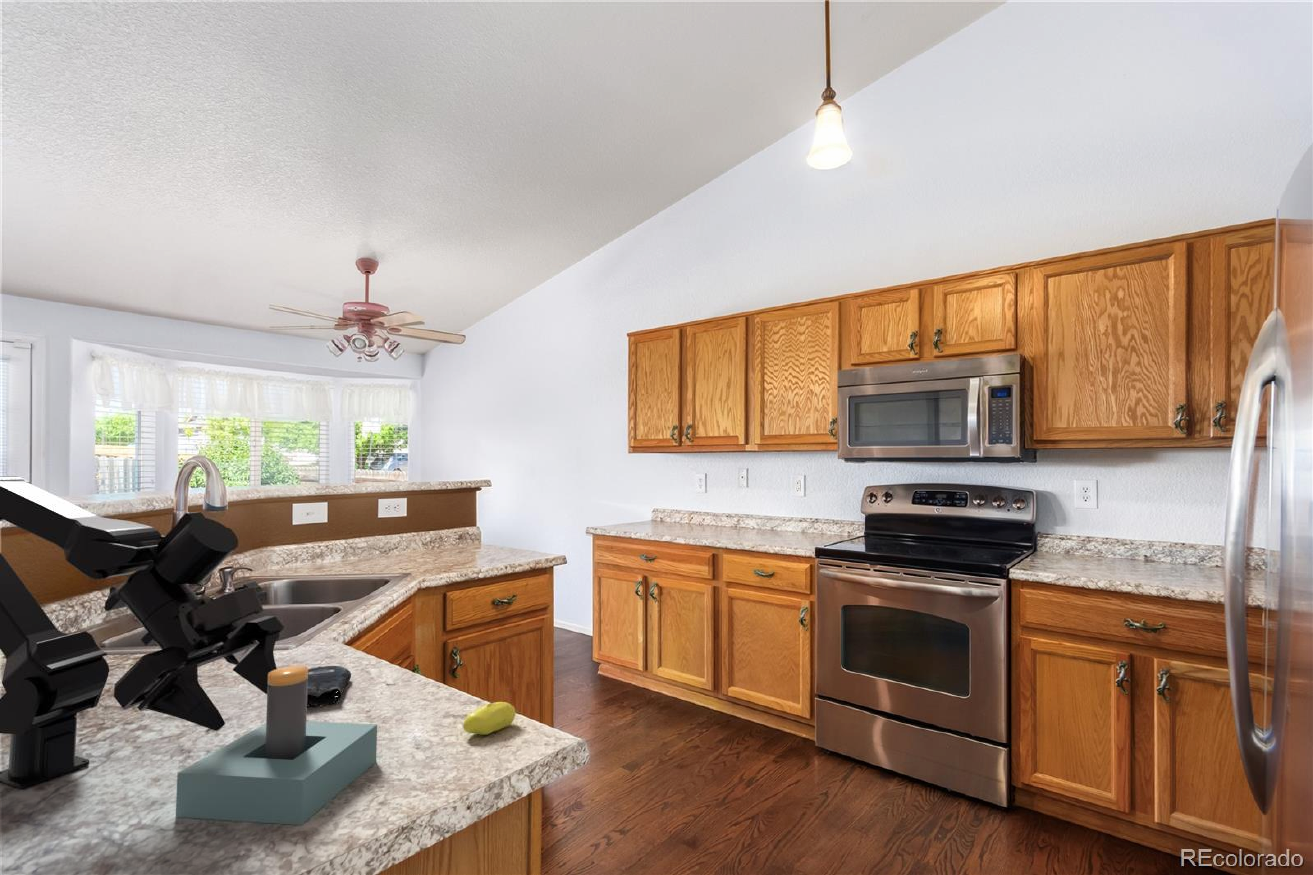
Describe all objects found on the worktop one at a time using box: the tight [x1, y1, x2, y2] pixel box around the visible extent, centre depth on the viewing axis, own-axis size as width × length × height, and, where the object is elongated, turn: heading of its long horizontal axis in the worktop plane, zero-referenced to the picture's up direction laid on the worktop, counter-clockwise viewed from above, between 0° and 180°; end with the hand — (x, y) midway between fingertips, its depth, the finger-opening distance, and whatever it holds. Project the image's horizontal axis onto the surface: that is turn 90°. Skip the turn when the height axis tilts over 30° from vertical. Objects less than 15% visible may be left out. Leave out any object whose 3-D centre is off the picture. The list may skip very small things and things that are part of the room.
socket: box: [175, 720, 378, 826], centre depth 71 cm, size 14×14×4 cm
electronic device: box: [307, 665, 352, 710], centre depth 101 cm, size 9×6×15 cm
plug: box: [265, 665, 309, 760], centre depth 72 cm, size 4×4×13 cm
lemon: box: [462, 701, 516, 736], centre depth 87 cm, size 4×8×4 cm, turn 132°
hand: (252, 711), depth 72 cm, fingers open, 9 cm apart
